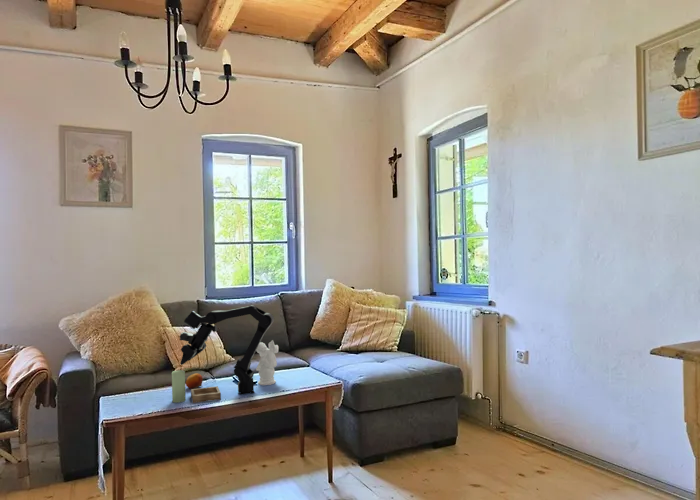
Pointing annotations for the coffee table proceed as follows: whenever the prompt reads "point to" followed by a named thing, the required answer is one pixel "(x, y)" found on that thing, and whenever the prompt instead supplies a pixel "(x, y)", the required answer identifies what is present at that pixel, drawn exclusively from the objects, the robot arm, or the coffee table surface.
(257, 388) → the coffee table surface
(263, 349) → the cherub figurine
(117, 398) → the coffee table surface
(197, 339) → the robot arm
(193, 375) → the fruit
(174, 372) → the green rounded tapered cylinder
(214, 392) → the tray
